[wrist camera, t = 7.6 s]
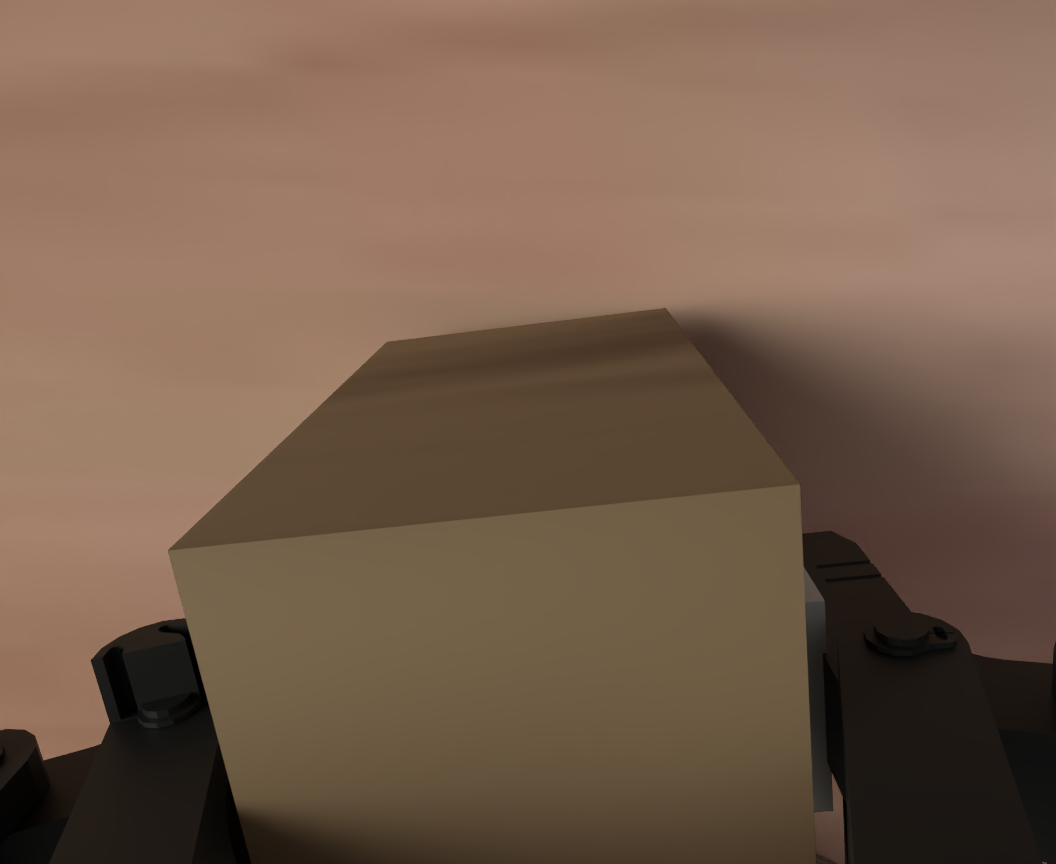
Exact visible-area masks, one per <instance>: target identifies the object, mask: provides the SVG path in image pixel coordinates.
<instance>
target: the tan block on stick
mask: <svg viewBox="0 0 1056 864" xmlns="http://www.w3.org/2000/svg"><path fill="white" fill-rule="evenodd" d="M168 554H169V557H170V561H171V565H172V569H173V572H174V576H175V580H176V584H177V587H178V591H179V595H180V599H181V602H182V606H183V610H184V614H185V617H186V621H187V625H188V629H189V632H190V636H191V640H192V644H193V647H194V651H195V655H196V659H197V662H198V666H199V670H200V674H201V677H202V681H203V685H204V689H205V692H206V696H207V700H208V704H209V707H210V711H211V715H212V719H213V722H214V726H215V730H216V734H217V737H218V741H219V745H220V749H221V752H222V756H223V760H224V764H225V767H226V771H227V775H228V779H229V782H230V786H231V790H232V794H233V797H234V801H235V805H236V809H237V812H238V816H239V820H240V824H241V827H242V831H243V835H244V839H245V842H246V846H247V850H248V854H249V857H250V861H251V864H816V852H815V828H814V804H813V781H812V757H811V733H810V710H809V686H808V662H807V638H806V615H805V591H804V567H803V544H802V520H801V496H800V484H799V482H798V481H797V480H796V478H795V477H794V476H793V474H792V473H791V472H790V470H789V469H788V468H787V467H786V465H785V464H784V463H783V461H782V460H781V459H780V457H779V456H778V455H777V453H776V452H775V451H774V450H773V448H772V447H771V446H770V444H769V443H768V442H767V440H766V439H765V438H764V436H763V435H762V434H761V433H760V431H759V430H758V429H757V427H756V426H755V425H754V423H753V422H752V421H751V419H750V418H749V417H748V415H747V414H746V413H745V412H744V410H743V409H742V408H741V406H740V405H739V404H738V402H737V401H736V400H735V398H734V397H733V396H732V395H731V393H730V392H729V391H728V389H727V388H726V387H725V385H724V384H723V383H722V381H721V380H720V379H719V378H718V376H717V375H716V374H715V372H714V371H713V370H712V368H711V367H710V366H709V364H708V363H707V362H706V360H705V359H704V358H703V357H702V355H701V354H700V353H699V351H698V350H697V349H696V347H695V346H694V345H693V343H692V342H691V341H690V340H689V338H688V337H687V336H686V334H685V333H684V332H683V330H682V329H681V328H680V326H679V325H678V324H677V323H676V321H675V320H674V319H673V317H672V316H671V315H670V313H669V312H668V311H667V309H666V308H663V309H655V310H647V311H639V312H630V313H622V314H614V315H606V316H597V317H589V318H581V319H573V320H564V321H556V322H548V323H540V324H531V325H523V326H515V327H507V328H498V329H490V330H482V331H474V332H465V333H457V334H449V335H441V336H432V337H424V338H416V339H408V340H399V341H391V342H386V343H385V344H384V345H383V346H382V347H381V348H380V349H379V350H378V351H377V352H376V353H375V354H374V355H373V356H372V357H371V358H370V359H369V360H368V361H367V362H365V363H364V364H363V365H362V366H361V367H360V368H359V369H358V370H357V371H356V372H355V373H354V374H353V375H352V376H351V377H350V378H349V379H348V380H347V381H345V382H344V383H343V384H342V385H341V386H340V387H339V388H338V389H337V390H336V391H335V392H334V393H333V394H332V395H331V396H330V397H329V398H328V399H327V400H326V401H324V402H323V403H322V404H321V405H320V406H319V407H318V408H317V409H316V410H315V411H314V412H313V413H312V414H311V415H310V416H309V417H308V418H307V419H306V420H304V421H303V422H302V423H301V424H300V425H299V426H298V427H297V428H296V429H295V430H294V431H293V432H292V433H291V434H290V435H289V436H288V437H287V438H286V439H285V440H283V441H282V442H281V443H280V444H279V445H278V446H277V447H276V448H275V449H274V450H273V451H272V452H271V453H270V454H269V455H268V456H267V457H266V458H265V459H263V460H262V461H261V462H260V463H259V464H258V465H257V466H256V467H255V468H254V469H253V470H252V471H251V472H250V473H249V474H248V475H247V476H246V477H245V478H244V479H242V480H241V481H240V482H239V483H238V484H237V485H236V486H235V487H234V488H233V489H232V490H231V491H230V492H229V493H228V494H227V495H226V496H225V497H224V498H223V499H221V500H220V501H219V502H218V503H217V504H216V505H215V506H214V507H213V508H212V509H211V510H210V511H209V512H208V513H207V514H206V515H205V516H204V517H203V518H201V519H200V520H199V521H198V522H197V523H196V524H195V525H194V526H193V527H192V528H191V529H190V530H189V531H188V532H187V533H186V534H185V535H184V536H183V537H182V538H180V539H179V540H178V541H177V542H176V543H175V544H174V545H173V546H172V547H171V548H170V549H169V550H168Z"/></svg>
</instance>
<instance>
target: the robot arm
mask: <svg viewBox="0 0 1056 864" xmlns="http://www.w3.org/2000/svg"><path fill="white" fill-rule="evenodd" d="M802 544H803V567H804V591H805V615H806V638H807V662H808V686H809V710H810V733H811V757H812V781H813V804H814V812H824V811H833V797H832V774H833V776H834V778H835V780H836V782H837V785H838V787H839V789H840V791H841V794H842V796H843V815H844V843H845V864H1043V863H1042V862H1047V864H1056V642H1055V646H1054V652H1053V664H1049V663H1037V662H1024V661H1012V660H1003V659H996V658H988V657H983V656H979V655H975V654H972V652H971V649H970V646H969V644H968V642H967V640H966V639H965V638H964V636H963V635H962V634H961V632H960V631H959V630H958V629H956V628H954V627H953V626H951V625H949V624H948V623H946V622H944V621H943V620H940V619H937V618H933V617H930V616H927V615H924V614H920V613H913V612H911V611H910V610H909V608H908V607H907V606H906V605H905V603H904V602H903V601H902V600H901V598H900V597H899V596H898V595H897V593H896V592H895V591H894V590H893V588H892V587H891V586H890V585H889V583H888V582H887V581H886V580H885V578H884V577H881V573H880V572H879V571H878V570H877V569H876V567H875V566H874V565H873V564H870V560H869V559H868V557H867V556H866V555H865V554H864V552H863V551H862V550H861V549H860V547H859V546H858V545H857V544H856V543H854V542H852V541H850V540H848V539H846V538H844V537H842V536H840V535H838V534H836V533H834V532H832V531H825V532H816V533H806V534H802ZM91 663H92V666H93V669H94V672H95V676H96V679H97V682H98V685H99V689H100V692H101V695H102V699H103V702H104V705H105V708H106V712H107V715H108V718H109V721H110V725H109V727H108V729H107V732H106V734H105V736H104V739H103V741H102V743H101V744H100V745H97V746H94V747H91V748H87V749H84V750H80V751H76V752H73V753H69V754H66V755H62V756H58V757H55V758H51V759H48V760H44V761H43V758H42V755H41V752H40V749H39V746H38V743H37V740H36V737H35V735H33V734H31V733H29V732H28V731H26V730H17V729H5V730H0V864H251V861H250V857H249V854H248V850H247V846H246V842H245V839H244V835H243V831H242V827H241V824H240V820H239V816H238V812H237V809H236V805H235V801H234V797H233V794H232V790H231V786H230V782H229V779H228V775H227V771H226V767H225V764H224V760H223V756H222V752H221V749H220V745H219V741H218V737H217V734H216V730H215V726H214V722H213V719H212V715H211V711H210V707H209V704H208V700H207V696H206V692H205V689H204V685H203V681H202V677H201V674H200V670H199V666H198V662H197V659H196V655H195V651H194V647H193V644H192V640H191V636H190V632H189V629H188V625H187V621H186V619H185V618H183V619H176V620H168V621H162V622H158V623H155V624H151V625H148V626H144V627H141V628H138V629H136V630H134V631H131V632H129V633H127V634H125V635H122V636H120V637H118V638H117V639H115V640H114V641H112V642H111V643H109V644H108V645H106V646H104V647H103V648H101V649H100V651H99V652H98V653H97V654H96V655H95V656H94V657H93V659H92V660H91ZM831 771H832V772H831Z"/></svg>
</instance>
